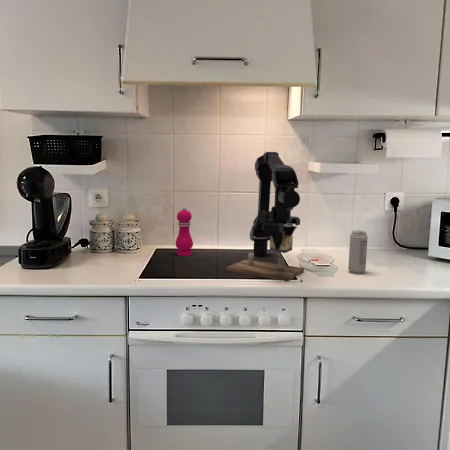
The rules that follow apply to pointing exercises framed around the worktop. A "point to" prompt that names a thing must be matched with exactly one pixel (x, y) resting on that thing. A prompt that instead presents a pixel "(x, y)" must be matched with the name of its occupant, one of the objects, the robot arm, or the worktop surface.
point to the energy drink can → (358, 252)
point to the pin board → (266, 269)
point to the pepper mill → (184, 233)
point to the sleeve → (282, 244)
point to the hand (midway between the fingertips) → (281, 247)
